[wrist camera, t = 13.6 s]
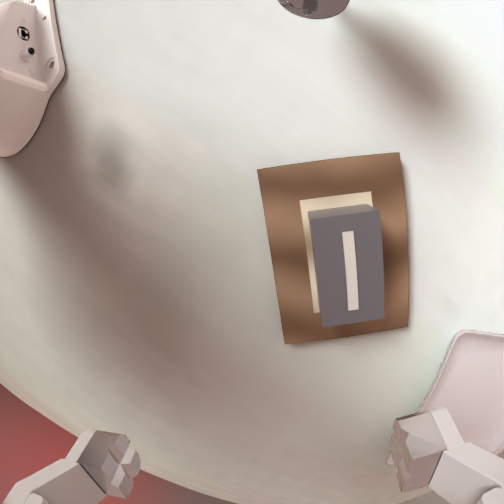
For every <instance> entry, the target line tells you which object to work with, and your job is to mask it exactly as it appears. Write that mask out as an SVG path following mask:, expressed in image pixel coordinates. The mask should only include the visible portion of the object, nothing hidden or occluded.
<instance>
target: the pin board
mask: <svg viewBox="0 0 504 504" xmlns="http://www.w3.org/2000/svg"><path fill="white" fill-rule="evenodd" d="M257 172H258V178H259V184H260V190H261V196H262V202H263V208H264V214H265V220H266V226H267V232H268V239H269V245H270V251H271V257H272V264H273V270H274V276H275V283H276V289H277V296H278V302H279V309H280V315H281V322H282V329H283V336H284V342H285V344H295V343H304V342H312V341H320V340H328V339H335V338H342V337H349V336H356V335H362V334H368V333H374V332H380V331H386V330H392V329H397V328H403V327H408V306H409V263H408V236H407V220H406V207H405V196H404V186H403V177H402V169H401V161H400V154H399V152H398V153H385V154H374V155H364V156H354V157H345V158H336V159H328V160H320V161H312V162H305V163H297V164H290V165H283V166H277V167H270V168H264V169H258V170H257ZM361 204H368V205H370V206H372V207H374V208H376V209H378V210H380V221H381V233H382V248H383V267H384V310H385V318H382V319H376V320H370V321H363V322H357V323H350V324H343V325H336V326H329V327H322V322H321V316H320V311H319V304H318V294H317V285H316V276H315V267H314V258H313V250H312V242H311V234H310V226H309V219H308V212H307V211H314V210H322V209H329V208H337V207H345V206H353V205H361Z"/></svg>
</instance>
